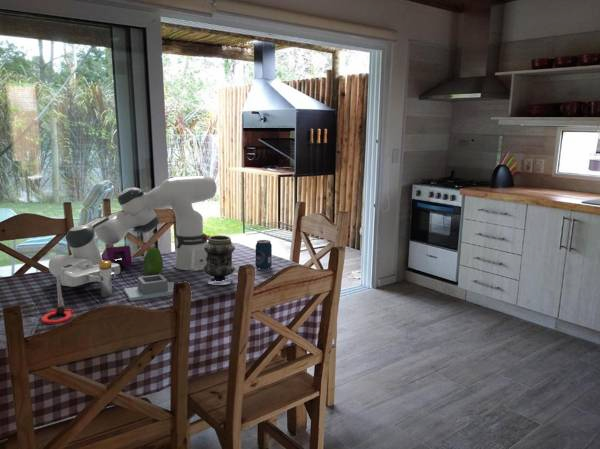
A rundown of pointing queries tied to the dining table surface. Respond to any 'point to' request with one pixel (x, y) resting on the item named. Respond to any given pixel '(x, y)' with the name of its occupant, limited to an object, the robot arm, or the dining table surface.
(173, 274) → the dining table surface
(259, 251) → the soda can
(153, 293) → the grey box on plate
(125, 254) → the mounting bracket
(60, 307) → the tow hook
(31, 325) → the dining table surface
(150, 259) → the avocado
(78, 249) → the robot arm
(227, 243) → the ornate stone vase
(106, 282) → the white gold-topped cylinder
